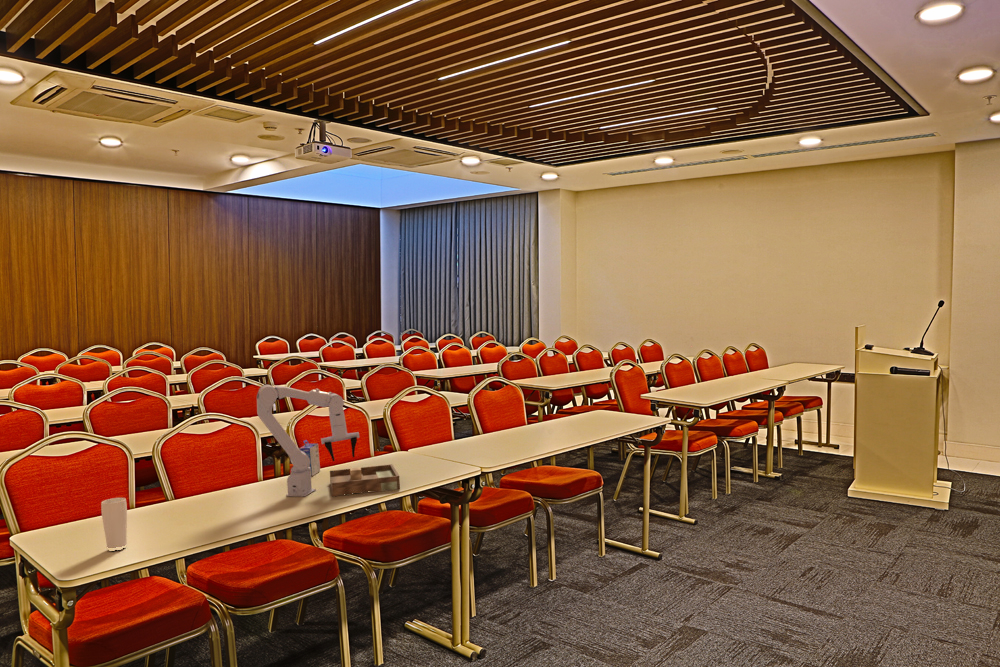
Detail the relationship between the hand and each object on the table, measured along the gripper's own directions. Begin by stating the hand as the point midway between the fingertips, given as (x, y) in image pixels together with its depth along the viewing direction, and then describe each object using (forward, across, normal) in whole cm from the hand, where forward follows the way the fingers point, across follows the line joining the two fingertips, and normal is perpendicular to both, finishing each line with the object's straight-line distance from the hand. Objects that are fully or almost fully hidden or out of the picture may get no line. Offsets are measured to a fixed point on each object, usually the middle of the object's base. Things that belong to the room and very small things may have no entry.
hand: (343, 458), depth 283 cm
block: (+8, -4, +2) cm, 9 cm away
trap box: (+12, -6, +2) cm, 13 cm away
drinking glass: (+4, +69, +50) cm, 85 cm away
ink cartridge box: (+10, +15, -29) cm, 35 cm away
